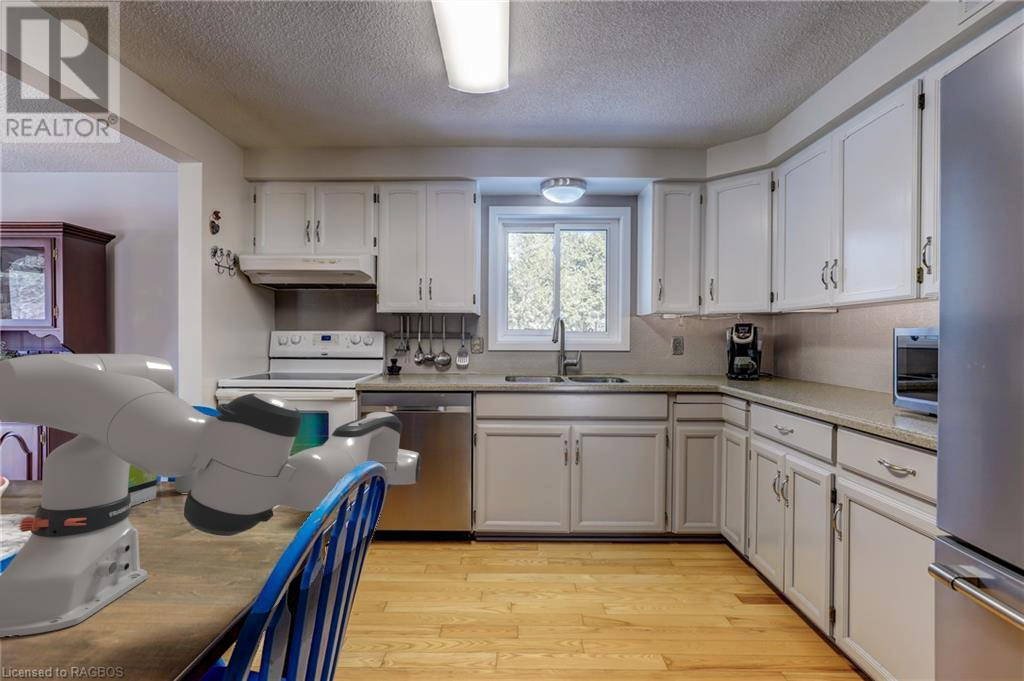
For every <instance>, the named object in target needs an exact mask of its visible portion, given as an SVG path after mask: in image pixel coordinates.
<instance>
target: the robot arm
mask: <svg viewBox="0 0 1024 681" xmlns="http://www.w3.org/2000/svg"><path fill="white" fill-rule="evenodd" d="M177 388H178V375H177V372H176V371H175V368H174V367H173V365H172V364H171V363H170V362H169V361H168V360H166V359H165V358H162V357H156V356H152V355H145V354H139V353H41V354H33V355H32V354H31V355H23V356H18V357H12V358H6V359H5V358H4V359H2V360H0V421H1V422H4V423H5V422H7V423H19V424H29V425H36V426H43V427H47V428H52V429H57V430H59V431H60V430H61V431H64V432H68V433H70V434H71V433H72V434H76V435H77V436H75V437H74V438H73V439H70V440H69V441H66V442H64V443H62V444H61V445H58V447H56V448H55V449H53V450H52V451H50V453H49V454H48V456H47V457H46V458H45V460H44V461H43V464H42V480H41V481H42V483H41V484H42V485H41V503H40V505H39V506H38V507H37V509H36V512H35V514H34V516H33V517H25V518H22V520H21V522H20V523H19V530H20V532H23V533H24V532H30V533H31V535H30V537H29V538H28V540H27V541H26V542H25V543H24V545H23V546H22V547H21V549H20V550H19V551H18V552H17V554H16V555H15V557H14V558H12V560H11V562H10V563H9V564H8V565H7V566H6V568H5V569H4V571H3V572H2V573H1V574H0V638H6V637H5V636H9V635H19V636H27V635H35V634H41V633H46V632H51V631H56V630H60V629H64V628H67V627H71V626H75V625H78V624H79V623H81V622H84V620H86V619H88V618H90V616H92V615H94V614H95V613H97V612H98V611H100V610H102V609H103V608H105V606H108V605H109V604H111V603H112V602H113V601H115V600H116V599H118V598H119V597H121V596H123V595H124V594H125V593H127V592H128V591H130V590H131V589H133V588H135V587H136V586H138V585H140V584H141V583H143V582H144V581H145V580H147V579H148V571H147V570H145V569H143V568H141V566H140V564H141V563H140V550H139V548H140V547H139V546H140V545H139V544H140V543H139V531H138V530H137V529H136V528H135V527H134V525H133V524H132V523H131V521H130V518H129V516H130V515H131V509H132V506H131V495H130V493H128V480H129V469H130V465H132V466H134V467H136V468H138V469H141V470H143V471H145V472H148V473H151V474H154V475H157V477H162V478H176V477H178V476H182V475H185V474H188V473H190V472H192V471H194V470H195V469H197V468H199V471H198V473H197V476H196V479H195V481H194V484H193V488H192V490H190V491H189V492H188V494H186V495H187V496H186V498H185V501H184V502H185V503H184V508H183V517H184V518H185V520H186V521H187V523H188V524H189V525H191V527H193V528H194V529H196V530H198V531H201V532H204V533H206V534H210V535H214V536H219V537H220V536H223V537H230V536H231V537H232V536H236V535H239V534H241V533H243V532H246V531H249V530H251V529H253V528H255V527H256V526H257V525H258V524H260V523H261V522H262V523H263V522H268V521H270V520H271V519H272V518H273V516H274V511H273V510H274V509H273V507H275V506H278V505H281V506H285V507H287V508H290V509H293V510H296V511H301V512H316V511H315V509H316V508H317V507H318V506H319V504H320V503H321V501H322V500H323V499H324V498H325V497H326V496H327V495H328V493H329V492H330V491H332V489H333V488H334V487H335V485H336V483H337V482H338V481H339V480H340V479H342V478H343V477H344V476H345V475H346V474H347V473H349V472H350V471H351V470H352V469H354V468H355V467H357V466H358V465H360V464H362V463H364V462H367V461H376V462H379V463H381V464H383V465H384V466H385V467H386V468H387V470H388V476H389V478H388V487H387V493H389V492H390V491H391V490H392V489H393V488H395V487H396V485H398V486H399V485H402V486H404V485H405V486H406V485H413V484H417V483H418V480H419V478H420V475H421V467H422V466H421V465H422V457H421V455H420V453H419V452H417V451H413V450H407V449H402V448H400V440H401V439H400V438H401V436H402V429H403V423H402V422H401V420H400V418H398V417H397V416H396V415H395V414H392V413H390V412H386V411H374V412H370V413H367V414H365V415H363V416H362V417H361V418H358V419H355V420H353V421H350V422H346V423H344V424H342V425H340V426H337V427H336V428H335V429H334V431H333V432H332V433H331V435H330V436H329V437H328V439H327V440H326V441H325V442H324V443H323V444H322V445H319V446H314V447H310V448H307V449H303V450H300V451H298V452H297V453H295V454H293V455H291V451H292V449H293V446H294V442H295V440H296V437H299V434H300V431H301V427H302V420H303V419H302V418H303V416H302V414H301V411H299V409H298V408H297V407H295V406H294V405H293V404H292V403H290V401H288V400H287V399H285V398H283V397H281V396H279V395H276V394H270V393H248V394H244V395H241V396H238V397H236V398H234V399H233V400H231V401H229V402H228V403H219V404H218V405H217V406H216V407H215V409H216V411H217V412H218V413H219V415H216V416H213V415H212V416H211V415H208V414H206V413H203V412H201V411H199V410H198V409H196V408H194V407H193V406H192V405H191V404H189V403H188V402H187V401H185V400H184V399H182V398H180V397H179V396H177V395H176V392H177V390H178V389H177ZM339 483H340V482H339ZM357 493H358V492H357V490H355V491H354V492H353V493H352V494H351V496H350V498H349V501H350V500H352V499H353V498H354V497H355V496H356V495H357ZM272 509H273V510H272ZM9 637H10V636H9Z"/></svg>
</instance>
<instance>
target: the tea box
mask: <svg viewBox="0 0 1024 681" xmlns="http://www.w3.org/2000/svg"><path fill="white" fill-rule="evenodd" d="M157 490H158V476H157V475H154V474H151V473H148V472H145V471H143V470H141V469H138V468H136V467H134V466H132V465H130V469H129V480H128V493H130V495H131V507H133V506H136V505H139V504H143V503H142V502H144V503H146V501H147V502H149V500H150V501H153V500H152V499H154V498H155V499H156V498H157V492H158V491H157ZM155 499H154V500H155Z"/></svg>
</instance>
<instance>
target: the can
mask: <svg viewBox="0 0 1024 681" xmlns="http://www.w3.org/2000/svg"><path fill="white" fill-rule="evenodd" d="M198 471H199V468H197V469H195V470H194V471H192V472H190V473H188V474H185V475H182V476H178V477H175V478H174V479H175V481H174V484H175V486H174V490H175V492H177V493H178V492H179V493H178V494H180V493H188V492H189V491H190V490H192V488H193V484H194V481H195V479H196V476H197V473H198Z"/></svg>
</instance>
